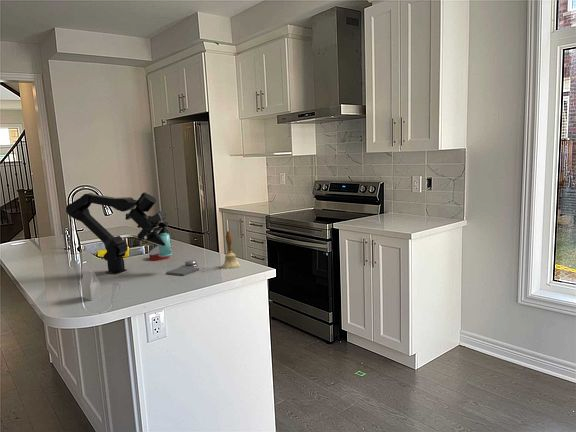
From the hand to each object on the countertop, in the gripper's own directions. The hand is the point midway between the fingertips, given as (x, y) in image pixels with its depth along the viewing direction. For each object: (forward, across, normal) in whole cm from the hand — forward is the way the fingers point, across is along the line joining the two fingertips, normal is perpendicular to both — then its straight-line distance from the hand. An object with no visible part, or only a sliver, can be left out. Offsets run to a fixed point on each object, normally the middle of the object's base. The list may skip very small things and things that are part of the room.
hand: (167, 243), depth 193 cm
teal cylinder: (+3, 0, +4) cm, 5 cm away
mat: (+13, 0, +4) cm, 14 cm away
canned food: (-4, +26, +22) cm, 34 cm away
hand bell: (+26, +10, -8) cm, 30 cm away
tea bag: (0, -36, +18) cm, 40 cm away
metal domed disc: (+12, +11, +5) cm, 17 cm away
